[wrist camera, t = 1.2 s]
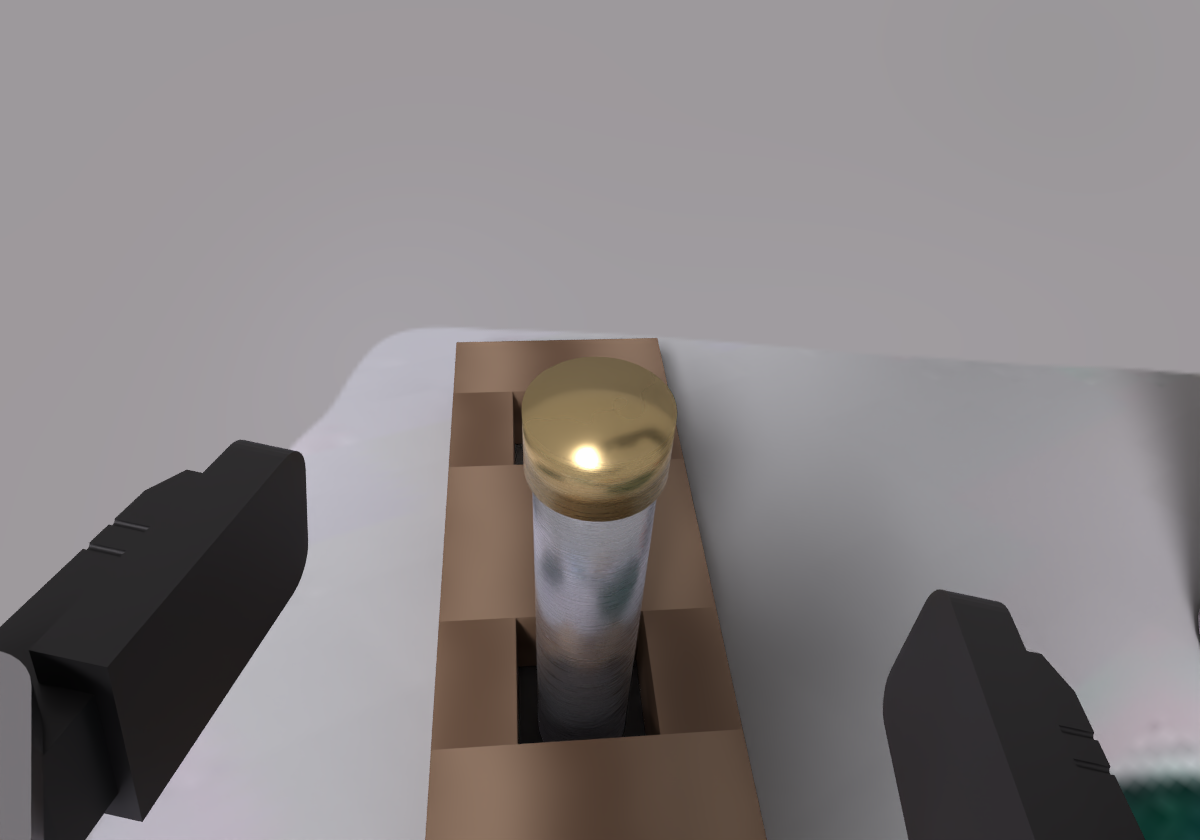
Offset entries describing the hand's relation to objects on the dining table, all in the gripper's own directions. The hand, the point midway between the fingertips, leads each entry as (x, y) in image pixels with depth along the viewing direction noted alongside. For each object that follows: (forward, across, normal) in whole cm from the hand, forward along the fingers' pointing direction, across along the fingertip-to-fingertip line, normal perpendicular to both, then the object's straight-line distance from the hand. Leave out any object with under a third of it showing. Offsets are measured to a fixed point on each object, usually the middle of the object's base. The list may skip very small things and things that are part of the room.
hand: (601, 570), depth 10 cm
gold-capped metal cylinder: (+12, -1, +18) cm, 22 cm away
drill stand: (+18, +1, +17) cm, 24 cm away
